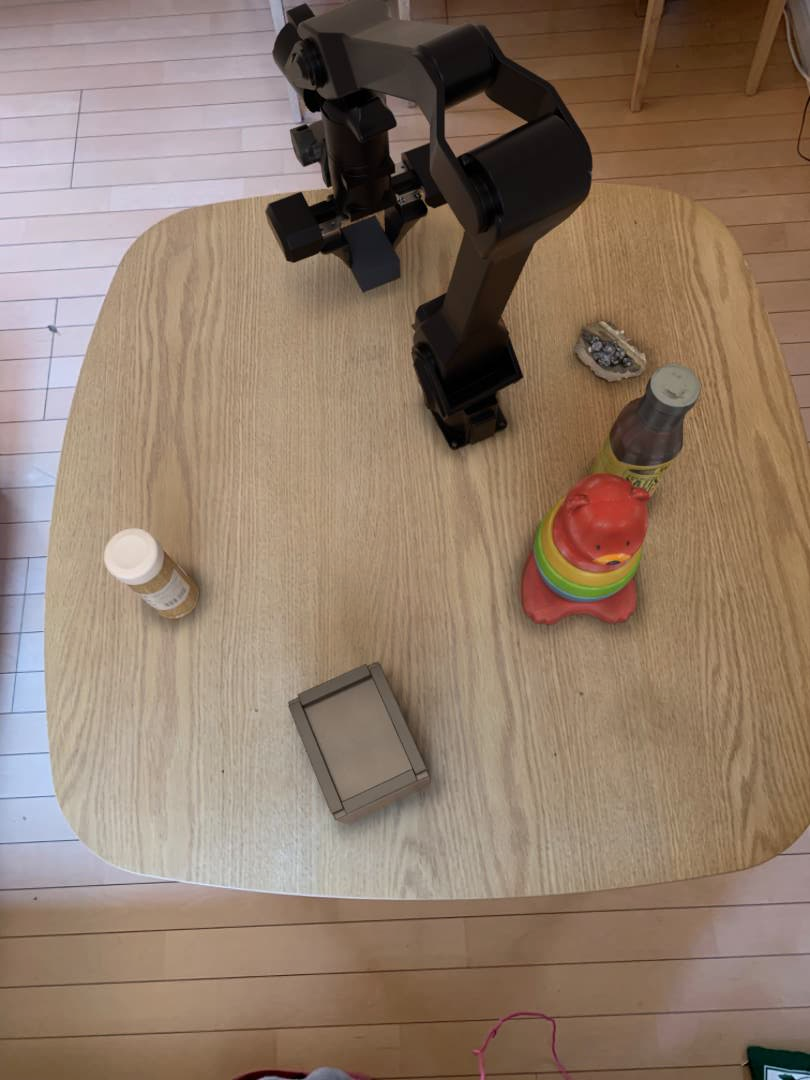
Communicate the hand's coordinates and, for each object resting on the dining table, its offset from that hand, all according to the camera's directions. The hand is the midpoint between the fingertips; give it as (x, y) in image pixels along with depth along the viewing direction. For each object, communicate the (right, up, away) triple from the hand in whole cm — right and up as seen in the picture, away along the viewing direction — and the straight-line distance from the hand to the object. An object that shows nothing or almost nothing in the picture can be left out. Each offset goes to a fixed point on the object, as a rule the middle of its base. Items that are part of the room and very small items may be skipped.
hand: (369, 256), depth 91 cm
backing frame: (0, -50, -15) cm, 52 cm away
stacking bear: (+20, -34, -9) cm, 40 cm away
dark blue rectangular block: (0, 0, +1) cm, 1 cm away
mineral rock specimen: (+26, -11, -1) cm, 28 cm away
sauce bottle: (+25, -26, -6) cm, 36 cm away
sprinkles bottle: (-18, -36, -9) cm, 41 cm away
